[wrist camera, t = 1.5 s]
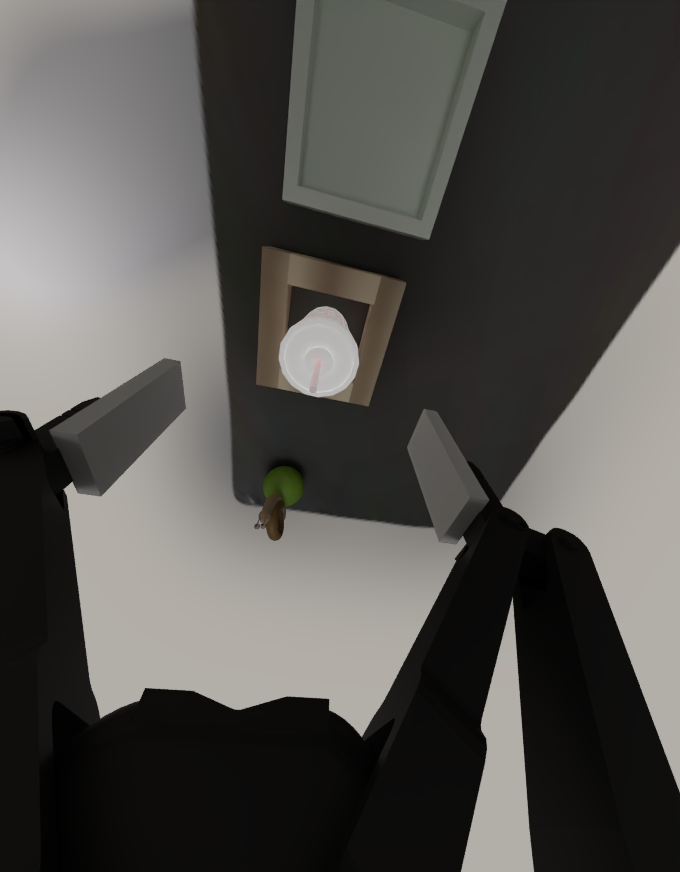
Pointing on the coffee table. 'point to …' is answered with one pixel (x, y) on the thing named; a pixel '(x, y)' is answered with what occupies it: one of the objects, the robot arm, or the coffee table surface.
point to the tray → (382, 105)
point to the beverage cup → (319, 354)
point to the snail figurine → (279, 498)
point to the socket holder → (335, 280)
